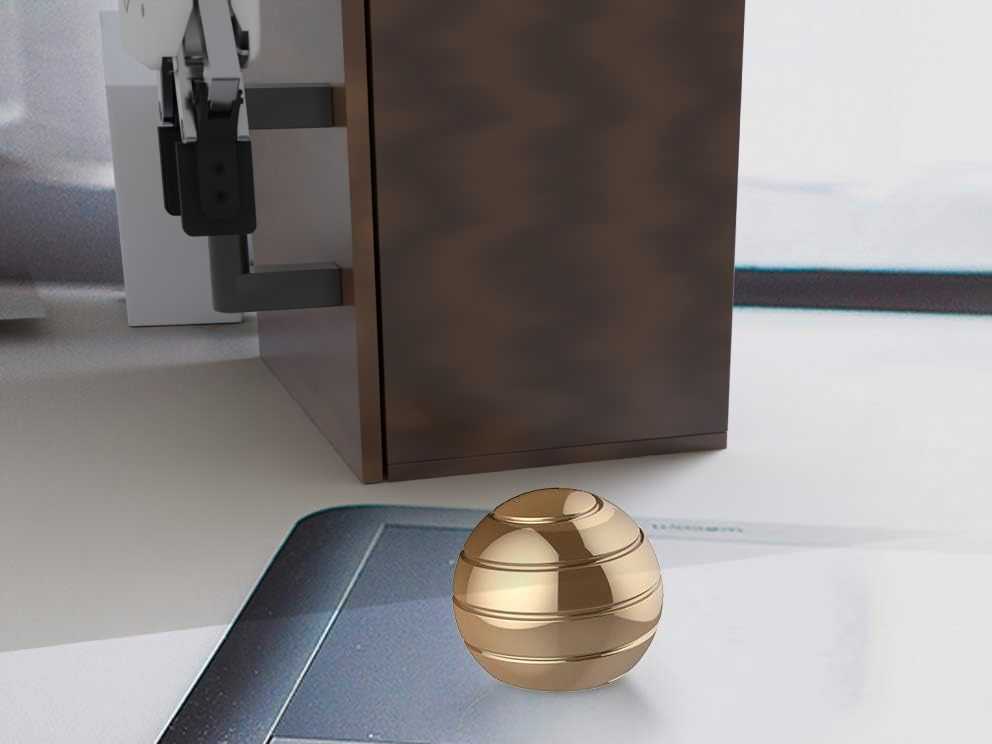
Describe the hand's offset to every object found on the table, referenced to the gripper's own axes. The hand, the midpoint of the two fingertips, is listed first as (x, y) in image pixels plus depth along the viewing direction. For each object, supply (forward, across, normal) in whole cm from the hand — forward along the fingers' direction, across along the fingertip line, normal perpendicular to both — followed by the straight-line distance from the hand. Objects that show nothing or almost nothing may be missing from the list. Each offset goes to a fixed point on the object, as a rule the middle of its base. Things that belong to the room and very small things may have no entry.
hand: (209, 219), depth 80 cm
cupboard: (+12, -10, +16) cm, 22 cm away
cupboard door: (+12, -10, +3) cm, 16 cm away
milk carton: (+13, -35, +3) cm, 38 cm away
